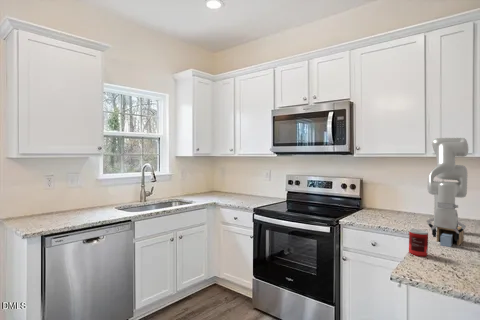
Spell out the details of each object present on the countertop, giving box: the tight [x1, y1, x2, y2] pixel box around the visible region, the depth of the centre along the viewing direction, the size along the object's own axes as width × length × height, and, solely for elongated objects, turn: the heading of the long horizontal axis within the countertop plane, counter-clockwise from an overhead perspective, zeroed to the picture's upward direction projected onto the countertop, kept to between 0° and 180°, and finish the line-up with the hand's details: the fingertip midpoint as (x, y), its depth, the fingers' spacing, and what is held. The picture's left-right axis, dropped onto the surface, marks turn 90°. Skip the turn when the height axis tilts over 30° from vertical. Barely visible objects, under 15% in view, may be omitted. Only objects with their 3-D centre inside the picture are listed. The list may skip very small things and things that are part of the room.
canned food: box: [408, 228, 429, 258], centre depth 141 cm, size 8×8×11 cm
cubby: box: [436, 225, 465, 246], centre depth 166 cm, size 12×10×8 cm
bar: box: [439, 233, 454, 248], centre depth 160 cm, size 12×4×5 cm, turn 140°
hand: (445, 238), depth 157 cm, fingers open, 9 cm apart
